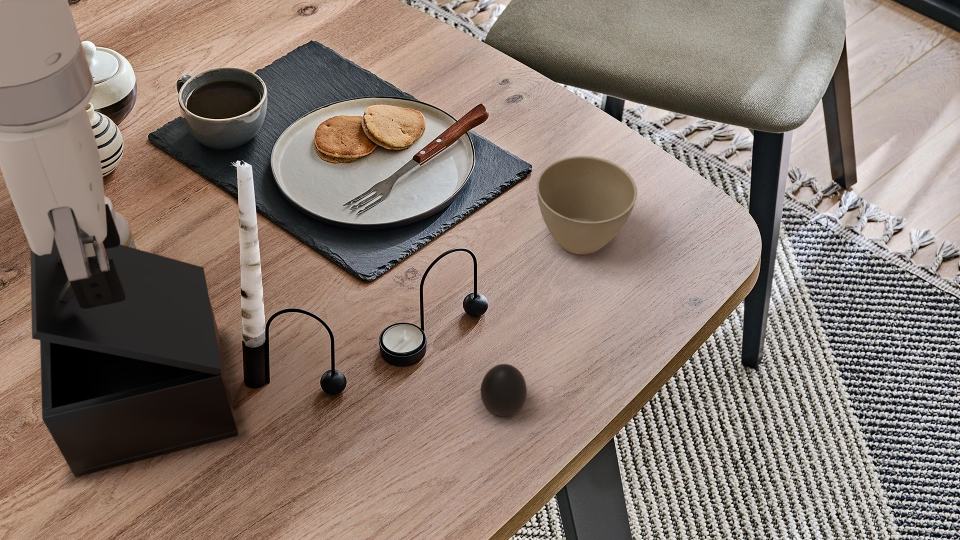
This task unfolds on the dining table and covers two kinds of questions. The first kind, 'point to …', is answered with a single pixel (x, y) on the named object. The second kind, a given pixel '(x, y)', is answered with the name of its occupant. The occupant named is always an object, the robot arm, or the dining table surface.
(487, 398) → the egg
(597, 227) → the tan bowl
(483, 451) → the dining table surface
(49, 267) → the lid
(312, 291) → the dining table surface
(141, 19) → the dining table surface
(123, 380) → the compartment
